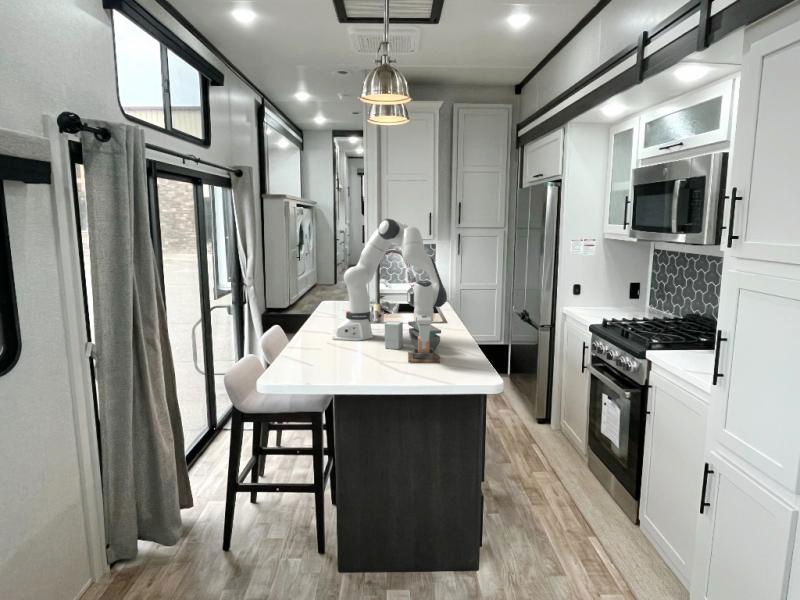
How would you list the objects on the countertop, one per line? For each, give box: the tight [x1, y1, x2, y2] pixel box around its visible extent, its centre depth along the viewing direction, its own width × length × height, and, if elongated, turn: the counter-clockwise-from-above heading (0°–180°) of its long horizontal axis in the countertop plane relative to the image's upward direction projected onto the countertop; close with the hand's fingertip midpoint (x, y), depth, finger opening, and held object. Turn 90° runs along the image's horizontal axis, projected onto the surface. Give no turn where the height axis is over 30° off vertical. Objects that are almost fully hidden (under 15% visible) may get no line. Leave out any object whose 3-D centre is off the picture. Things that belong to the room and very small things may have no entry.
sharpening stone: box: [407, 320, 442, 350], centre depth 247 cm, size 25×8×11 cm, turn 18°
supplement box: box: [384, 320, 404, 350], centre depth 246 cm, size 7×7×13 cm
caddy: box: [407, 347, 441, 364], centre depth 226 cm, size 14×14×4 cm
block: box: [418, 336, 429, 353], centre depth 225 cm, size 5×5×7 cm
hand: (423, 346), depth 226 cm, fingers closed on block, 5 cm apart
